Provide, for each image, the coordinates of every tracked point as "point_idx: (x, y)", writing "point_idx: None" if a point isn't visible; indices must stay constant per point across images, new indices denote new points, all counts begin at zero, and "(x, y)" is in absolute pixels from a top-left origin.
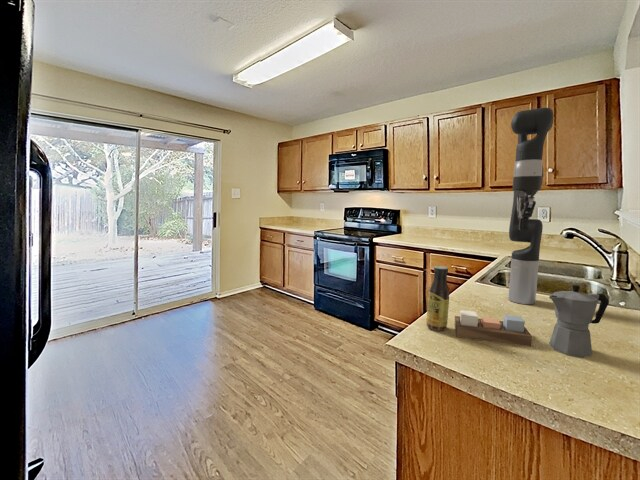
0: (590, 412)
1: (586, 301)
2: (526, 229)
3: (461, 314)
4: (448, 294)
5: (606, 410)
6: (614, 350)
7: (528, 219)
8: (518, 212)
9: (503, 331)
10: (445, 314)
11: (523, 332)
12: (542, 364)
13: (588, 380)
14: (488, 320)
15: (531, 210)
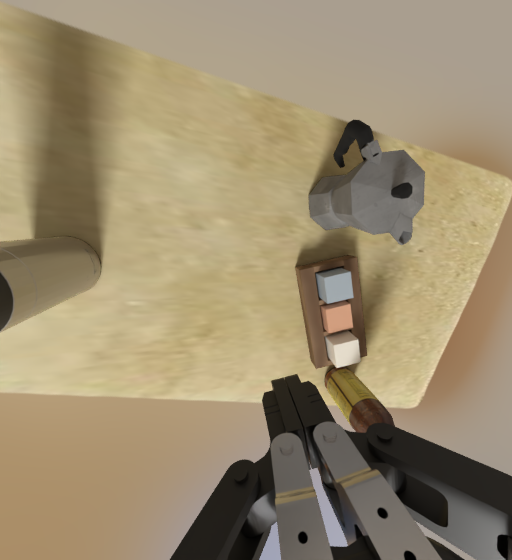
0: (491, 209)
1: (424, 178)
2: (298, 380)
3: (353, 362)
4: (378, 405)
5: (483, 193)
6: (304, 135)
7: (319, 421)
8: (262, 544)
9: (354, 296)
10: (361, 382)
11: (345, 268)
12: None
13: (424, 197)
14: (342, 321)
15: (473, 473)
